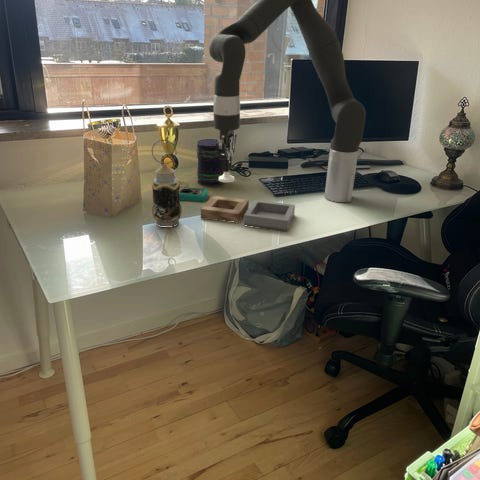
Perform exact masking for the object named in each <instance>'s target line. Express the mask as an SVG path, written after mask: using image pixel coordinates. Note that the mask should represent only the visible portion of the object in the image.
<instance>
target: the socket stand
mask: <svg viewBox="0 0 480 480" xmlns="http://www.w3.org/2000/svg"><path fill="white" fill-rule="evenodd" d="M249 203H250V200H249V199H243V198H234V197H227V196H219V195H212V197H211V198H209V199H208V201H207V202H206V203H205V204H204V205H203V206H201V208H200V218H201V219H205V218H209V219H208V220H213V219H217V220H216V221H220V220H225V221H224V222H227V221H234V222H233V223H235V222H239V221H240V222H241V220H242V219H243V218H244V214H245V213H246V212H247V210H248V209H249V207H250V206H249V205H250V204H249ZM241 218H242V219H241ZM240 222H239V223H240Z"/></svg>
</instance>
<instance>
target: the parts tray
mask: <svg viewBox="0 0 480 480" xmlns="http://www.w3.org/2000/svg"><path fill="white" fill-rule="evenodd" d="M295 210H296V204H291V203H282V202H274V201H266V200H258V199H253V202H252V203H251V204H250V206H249V208H248V210H247V212H246V213H245V214H244V216H243V226H244V225H247V226H246V227H248V226H253V227H252V228H255V227H259V228H258V229H263V228H265V229H264V230H270V229H271V230H272V231H278V232H279V231H280V232H285V233H286V232H287V233H288V230H289V228H290V225H291V224H292V221H293V219H294V216H295Z"/></svg>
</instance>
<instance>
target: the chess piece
mask: <svg viewBox="0 0 480 480" xmlns="http://www.w3.org/2000/svg"><path fill="white" fill-rule="evenodd" d="M226 149H228V148H226ZM223 155H224V154H223ZM229 163H230V161H229ZM218 180H219V181H220V182H223V183H233V182H235V176H233V175H231V173H230V170H229V171H228V172H224V174H223V175H222V176H220V177H219V179H218Z"/></svg>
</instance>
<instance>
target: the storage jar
mask: <svg viewBox="0 0 480 480" xmlns="http://www.w3.org/2000/svg"><path fill="white" fill-rule="evenodd" d="M217 142H219V141H218V139H217V138H216V139H215V138H214V139H213V138H207V139H206V138H205V139H199V140H197V141H196V157H197V172H196V176H197V183H198V184H199V185H201V186H204V187H218V186H221V185H223V184H224V182H220V181H219V180H218V179H219V177H220V176H222V175H223V174H224V172H222V164H221V160H222V159H219V157H218V152H217V147H216V143H217Z"/></svg>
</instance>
